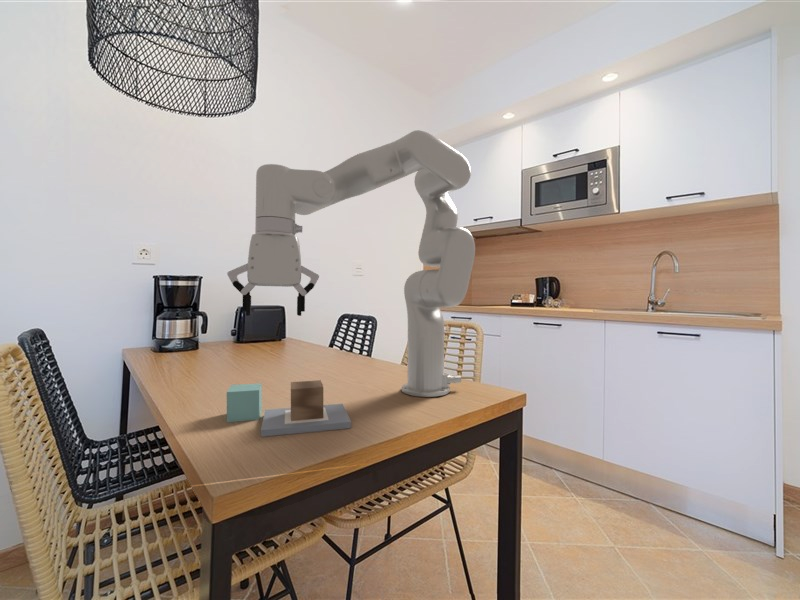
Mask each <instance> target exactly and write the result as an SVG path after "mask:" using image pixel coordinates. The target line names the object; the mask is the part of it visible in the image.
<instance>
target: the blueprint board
mask: <svg viewBox="0 0 800 600" xmlns="http://www.w3.org/2000/svg"><path fill="white" fill-rule="evenodd" d="M351 428H352V420H351V418H350V416H349V414H348V412H347V410H346V408H345V405H344V404H343V403H334V404H323V418H320V419H309V420H298V421H291V407H285V408H283V407H282V408H271V409H270V408H269V409H265V410H264V415H263V418H262V422H261V427H260V437H261V438H263V437H273V436H274V437H275V436H282V435H292V434H294V435H295V434H304V433H305V434H306V433H314V432H315V433H316V432H323V431H324V432H325V431H333V430H345V429H351Z"/></svg>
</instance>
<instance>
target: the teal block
mask: <svg viewBox="0 0 800 600" xmlns="http://www.w3.org/2000/svg"><path fill="white" fill-rule="evenodd" d="M262 388H263V387H262V382H261V383H244V384H243V383H241V384H239V383H238V384H231V385H230V386H229V388H228V389H227V391H226V423H232V422H244V421H256V420H260V418H261V414H262V411H263V409H262V408H263V407H262V405H263V404H262V403H263V401H262V399H263V397H262V396H263V394H262Z"/></svg>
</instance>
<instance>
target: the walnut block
mask: <svg viewBox="0 0 800 600" xmlns="http://www.w3.org/2000/svg"><path fill="white" fill-rule="evenodd" d="M323 405H324V385H323V381H322V380H321V379H319V380H303V381H290V408H291V421H298V420H309V419H320V418H323Z"/></svg>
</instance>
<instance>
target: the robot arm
mask: <svg viewBox="0 0 800 600" xmlns="http://www.w3.org/2000/svg"><path fill="white" fill-rule="evenodd" d="M413 173H415V176H414V187H415V190H416V192H417V194H418V195H419V197H420V199H421V200H422V202H423V204H424V207H425V210H426V211H425V212H426V214H425V219H424V220H425V221H424V225H423V228H422V232H421V233H422V234H421V238H420V241H419V246H418V252H417V253H418V259H419V261H420V263H422V264H423V265H424V266H426V267H431V268H434V269H425V270H424V269H423V270H418V271H415V272H413V273H411V274H410V275H409V276H408V277H407V278H406V281H405V283H404V286H403V287H404V288H403V294H404V300H405V305H406V311H407V382H405V383H404V384H402V385H401V392H403V394H406V395H409V396H414V397H421V398H426V397H427V398H431V397H432V398H434V397H442V396H446V395H448V394H449V393H450V392H451V390H450V389H451V387H450V385H451V384H459V383H461V382H462V376H461V375H453V374H447V373H445V321H444V317H443V313H442V310H441V308H443V309H444V308H445V309H446V308H448V309H450V308H456V307H457V306H459V305H461V304H462V303H463V301H464V299H465V298H466V296H467V292H468V288H469V285H470V279H471V277H472V276H471V275H472V270H473V266H474V262H475V257H476V256H475V255H476V243H475V239H474V236H473V235H472V233H471V232H470V231H469V230H468V229H466V228H464V227H461V226H457V224H458V220H459V217H458V216H459V215H458V211H457V210H458V209H457V208H456V205H455V204H454V202H453V200H452V199H451V197H450V196H449V193H451V192H454V191H456V190H459V189H462V188H464V187H465V186H467V184H468V183H469V181H470V179H471V176H472V174H471V173H472V169H471V165H470V163H469V161H468V159H467V158H466V157H465V156H464V155H463V154H462V153H460V152H459V151H458V150H456V149H455V148H453V147H452V146H450V145H449V144H448V143H445V142H444V140H441V138H438V137H436V136H435V135H433V134H430V133H429V132H427V131H424V130H419V129H418V130H413V131H411V132H408V134H407V133H406V135H404V136H402V137H400V138H398V139H397V140H395V141H392V142H389V143H386V144H384V145H381V146H378V147H374V148H372V149H369V150H366V151H363V152H359V153H357V154H355V155H353V156H351V157H349V158H347V159H345V160H343V161H342V162H341V163H340V164H339V163H338V164H337V165H335V166H334V167H332V168H330V169H328V170H325V171H320V170H315V169H313V170H312V169H296V168H290V167H287V166H285V165H281V164H276V163H268V164H263V165H260V166H259V167H258V168H257V170H256V175H255V228H254V229H255V231H254V232H255V233H254V234H251V237H250V240H249V241H250V242H249V248H248V258H247V263H245V264H243V265H240V266H238V267H236V268H233V269H231V270H230V271H228V272H227V273H226V274H227V276H228V278H229V280H230V282H231V283H232V286H233V287H234V288H235V289H236V290H237V291H239V292H240V294H242V312H245V316H251V315H252V295H251V292H252V290H253V289H254V288H255V286H259V287H285V288H286V287H291V288H292V287H294V290H296V291H297V294H298V296H296V297H297V298H296V302H297V303H296V305H297V306H296V315H297V316H298V317H301V316H302V312H306V311H305V308H306V296H307V294H309V293H310V291H312V290H313V289H314V287H315V285H316V284H317V282H318V281H319V278H320V275H319V274H318V273H316V272H314V271H312V270H310V269H308V268H307V267H305V266H303V265H302V258H301V257H302V255H301V247H300V240H299V237H297V236H296V235H297V234H299V233H302V234H303V225H299V224H297V223H296V214H297V215H301V216H308V215H311V214H313V213H315V212H317V211H320V210H323V209H325V208H327V207H330V206H332V205H335V204H337V203H339V202H342V201H345V200H347V199H348V200H349V199H351V198H354V197H358V196H361V195H364V194H366V193H369V192H371V191H374V190H376V189H379V188H381V187H384V186H385V185H387V184H390V183H392V182H395V181H397V180H401V179H402V178H406V177H407V176H409V175H412V174H413ZM435 268H439V269H435ZM246 272H247V274H246V275H247V284H245V285H243V284H242V283H241V282H240V280H239V278H238V276H239V275H241V274H244V273H246ZM302 275H305V276H306V277H309V278H310V279H309V282H308V284H306V286H303V285H302V284H301V281H302Z"/></svg>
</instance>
